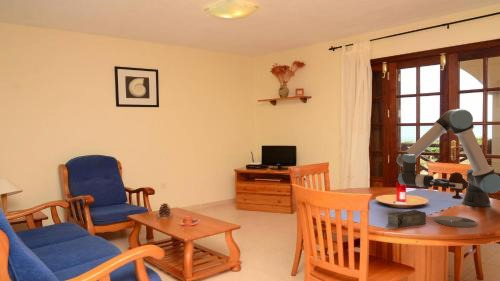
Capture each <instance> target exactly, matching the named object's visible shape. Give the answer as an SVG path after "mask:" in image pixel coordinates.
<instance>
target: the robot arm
mask: <svg viewBox="0 0 500 281" xmlns="http://www.w3.org/2000/svg"><path fill="white" fill-rule="evenodd" d="M473 121H474V117H473V115H472V113H471V112H470V111H468V110H467V109H463V108H456V109H450V110H447V111H446V112H444V113H442V115H441V116H440V117H439V118H438V119H436V120H435V121H434V125H432V126H431V127H430V129H428V130H427V131H426V132H425V133H424V134H423V135H422V136H421V137H420V138H419V139H417V140H416V141H415V143H413V144H412V145H411V146H410V147H409V148H408V149H407V150H406V151H404V153H402V154H400V155H398V156H397V157H396V163H397V165H399V166H400V168H401V167H402V171H401V172H400V173H399V174H398V177H397V180H398V183H399V184H400V185H404V186H414V187H419V188H430V189H431V188H433V187H440V188H445V189H448V190H449V189H451V188H459V189H462V185H463V184H459V183H447V181H449V178H448V179H447V178H439V177H438V178H435V177H434V176H433V175H432V174H423V173H416V172H417V171H416V170H417V166H416V165H417V163H416V162H417V158H418V157H419V156H420V155H421V154H422V153H424V151H426V150H427V149H428V148H429V147H430V146H431V145H432V144H433V143H434V142H436V141H437V140H438V139H439V138H440V137H441V136H442V135H443V134H447V133H448V132H450V131H452V134H453V135H455V136H457V138H458V140H459V143H460V145H461V148H462V149H463V151H464V154H465V155H466V157H467V160H468V162H469V163H470V164H469V165H470V167H471V168H469V169H467V171H466V182H468V186H467V188H466V191H465V194H464V197H463V199H462V204H464V205H466V206H472V207H483V208H484V207H485V208H486V207H490V206H491V203H492V202H491V200H490V197H489V194H495V193H498V192H499V191H500V176H499V175H498V174H497V173H496V172H495V170H494V167H492V166H490V165H489V163H488V161H487V158H486V157H485V155H484V152H483V151H482V147H481V146H480V144H479V142H478V139H477V138H476V134H475V133H474V131H473V130H474V128H475V126H474V124H473Z"/></svg>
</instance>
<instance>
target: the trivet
mask: <svg viewBox="0 0 500 281" xmlns="http://www.w3.org/2000/svg"><path fill="white" fill-rule="evenodd" d="M433 221H434V222H435V223H437V224H440V225H444V226H448V227H454V228H474V227H477V225H478V223H477V221H475V220H473V219H471V218H467V217H462V216H457V215H456V216H455V215H438V216H437V215H436V216H434V217H433Z"/></svg>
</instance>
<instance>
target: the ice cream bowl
mask: <svg viewBox="0 0 500 281" xmlns="http://www.w3.org/2000/svg"><path fill="white" fill-rule="evenodd" d="M448 179H449V181H447V183H459V184H463V185H462V189H459V188H450V190H453V191H454V193H455V195H453V196H451V198H452V199H455V200H463V199H464V197H462V196H461V195H460V192H461V191H464V190H465V189H466V188H467V186H468V182H466V181H467V179H465V178H464V175H463V174H462V173H460V172H457V171H456V172H452V173H451V175H450V176H449V178H448Z"/></svg>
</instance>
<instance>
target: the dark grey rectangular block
mask: <svg viewBox="0 0 500 281" xmlns="http://www.w3.org/2000/svg"><path fill="white" fill-rule="evenodd" d="M426 214H427V213H426V212H425V211H421V210H417V209H411V210H405V211H398V212H397V211H396V212H389V213H387V224H388V225H389V226H392V227H395V228H405V227H412V226H418V225H425V224H427V223H426V222H427V221H426V220H427V215H426Z"/></svg>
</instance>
